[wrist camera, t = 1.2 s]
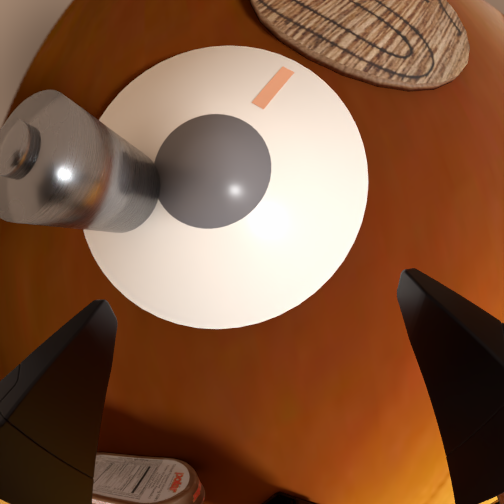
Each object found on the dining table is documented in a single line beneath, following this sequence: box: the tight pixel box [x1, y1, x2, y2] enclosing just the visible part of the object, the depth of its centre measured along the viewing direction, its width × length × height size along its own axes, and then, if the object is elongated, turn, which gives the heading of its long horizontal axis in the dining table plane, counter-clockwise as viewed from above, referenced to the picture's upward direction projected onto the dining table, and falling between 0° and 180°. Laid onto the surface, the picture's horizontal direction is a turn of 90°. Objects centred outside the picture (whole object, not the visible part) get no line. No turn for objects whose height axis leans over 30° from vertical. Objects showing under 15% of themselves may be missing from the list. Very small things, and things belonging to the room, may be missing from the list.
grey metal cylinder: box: [0, 90, 160, 233], centre depth 13 cm, size 6×6×11 cm
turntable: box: [83, 46, 368, 329], centre depth 20 cm, size 21×21×2 cm
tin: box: [92, 452, 205, 504], centre depth 18 cm, size 15×3×8 cm, turn 102°
